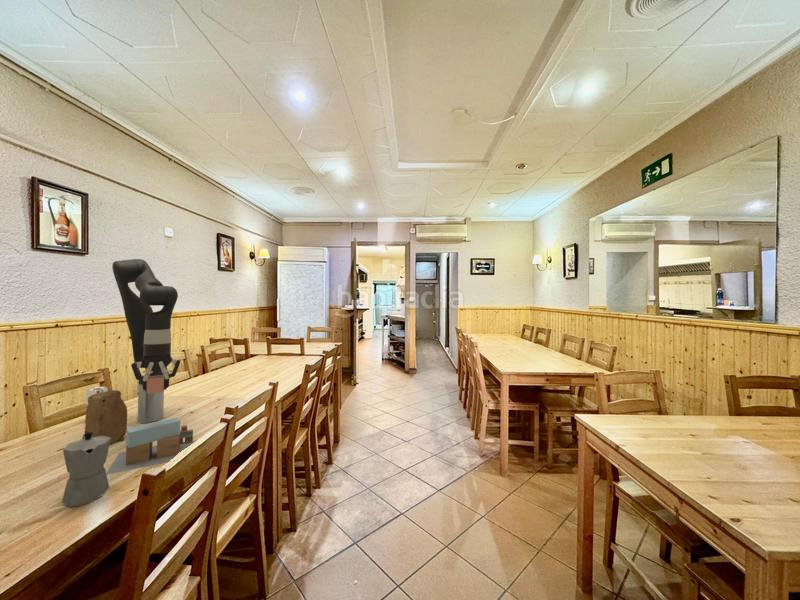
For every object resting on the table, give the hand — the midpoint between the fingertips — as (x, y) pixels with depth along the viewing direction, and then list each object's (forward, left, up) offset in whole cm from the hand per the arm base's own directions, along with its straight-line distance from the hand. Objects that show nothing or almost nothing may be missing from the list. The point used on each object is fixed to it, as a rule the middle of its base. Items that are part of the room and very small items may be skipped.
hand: (156, 389), depth 105 cm
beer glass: (-51, -27, -24) cm, 62 cm away
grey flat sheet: (-1, 0, -24) cm, 24 cm away
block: (-21, -17, -24) cm, 36 cm away
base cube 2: (0, +4, -23) cm, 24 cm away
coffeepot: (+16, -13, -24) cm, 32 cm away
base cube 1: (0, -4, -23) cm, 24 cm away
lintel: (0, 0, -17) cm, 17 cm away
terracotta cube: (0, 0, 0) cm, 0 cm away
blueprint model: (-6, +8, -23) cm, 25 cm away
